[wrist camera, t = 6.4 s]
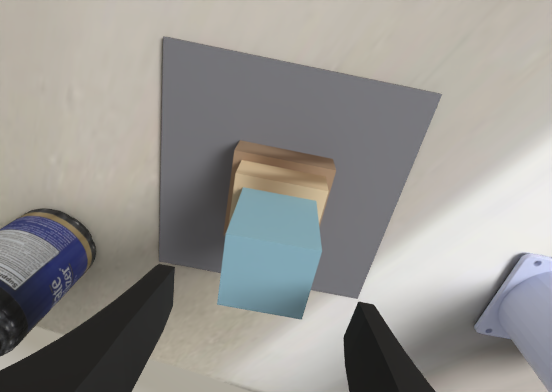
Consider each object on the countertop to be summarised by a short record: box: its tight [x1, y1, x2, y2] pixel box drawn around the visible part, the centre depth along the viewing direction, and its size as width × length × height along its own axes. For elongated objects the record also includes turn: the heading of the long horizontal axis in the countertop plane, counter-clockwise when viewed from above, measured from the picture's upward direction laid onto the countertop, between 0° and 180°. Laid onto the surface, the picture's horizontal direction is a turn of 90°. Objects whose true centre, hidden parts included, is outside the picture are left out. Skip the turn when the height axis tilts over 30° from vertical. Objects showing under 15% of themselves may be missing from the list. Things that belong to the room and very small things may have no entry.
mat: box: [159, 37, 442, 299], centre depth 21 cm, size 16×16×1 cm
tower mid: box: [228, 160, 329, 226], centre depth 18 cm, size 5×5×2 cm
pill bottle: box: [0, 209, 96, 356], centre depth 20 cm, size 6×6×11 cm
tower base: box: [223, 140, 336, 236], centre depth 20 cm, size 6×6×2 cm
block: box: [217, 187, 322, 319], centre depth 16 cm, size 4×4×4 cm
